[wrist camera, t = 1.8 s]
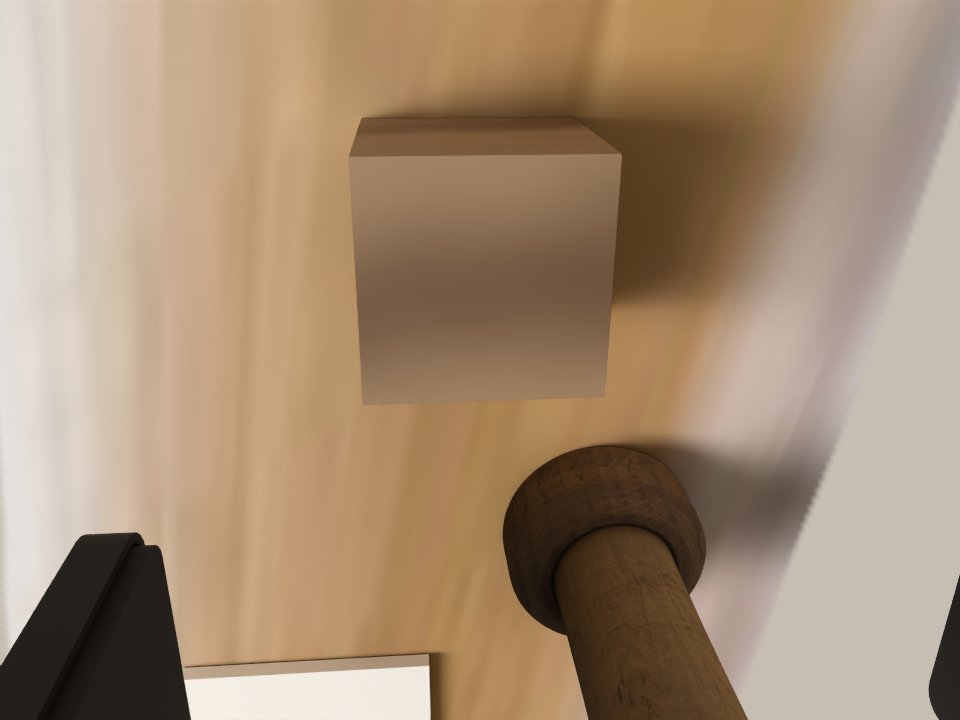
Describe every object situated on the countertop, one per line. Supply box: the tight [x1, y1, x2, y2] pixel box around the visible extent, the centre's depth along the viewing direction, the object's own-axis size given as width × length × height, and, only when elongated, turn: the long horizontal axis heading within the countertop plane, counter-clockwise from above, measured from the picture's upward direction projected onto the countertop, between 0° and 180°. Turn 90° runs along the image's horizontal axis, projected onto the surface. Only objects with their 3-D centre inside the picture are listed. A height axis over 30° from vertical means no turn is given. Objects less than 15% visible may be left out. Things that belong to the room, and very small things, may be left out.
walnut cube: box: [349, 117, 622, 405], centre depth 22 cm, size 6×6×6 cm
